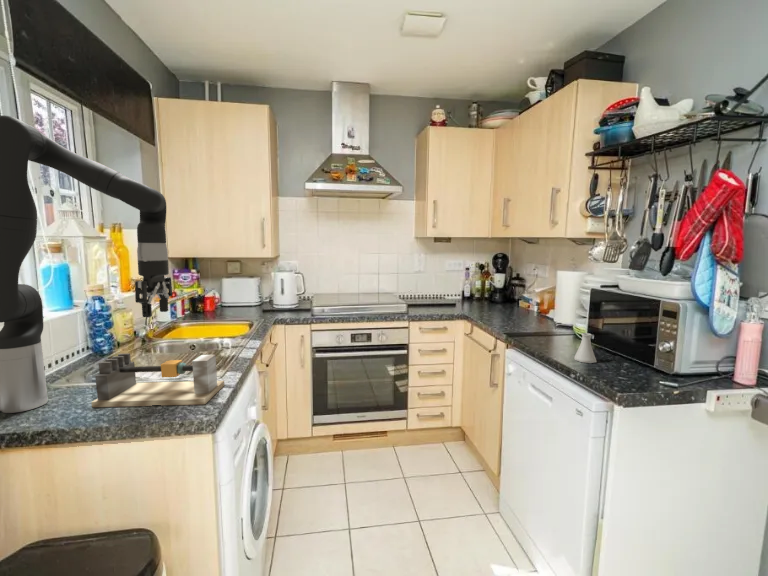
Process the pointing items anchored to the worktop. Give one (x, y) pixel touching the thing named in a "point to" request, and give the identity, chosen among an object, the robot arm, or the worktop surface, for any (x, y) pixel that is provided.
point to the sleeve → (170, 368)
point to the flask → (585, 350)
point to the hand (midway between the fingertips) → (156, 314)
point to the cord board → (154, 384)
